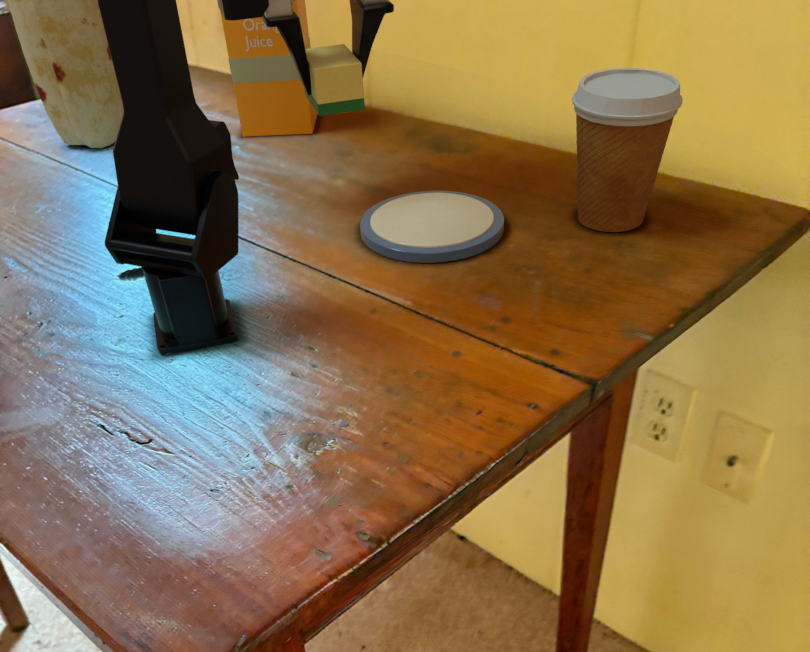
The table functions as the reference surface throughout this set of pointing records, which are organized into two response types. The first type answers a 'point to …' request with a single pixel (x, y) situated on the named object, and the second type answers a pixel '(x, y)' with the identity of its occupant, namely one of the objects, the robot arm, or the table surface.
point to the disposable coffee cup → (621, 143)
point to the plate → (432, 226)
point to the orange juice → (268, 78)
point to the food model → (71, 68)
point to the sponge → (335, 80)
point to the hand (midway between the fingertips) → (333, 90)
